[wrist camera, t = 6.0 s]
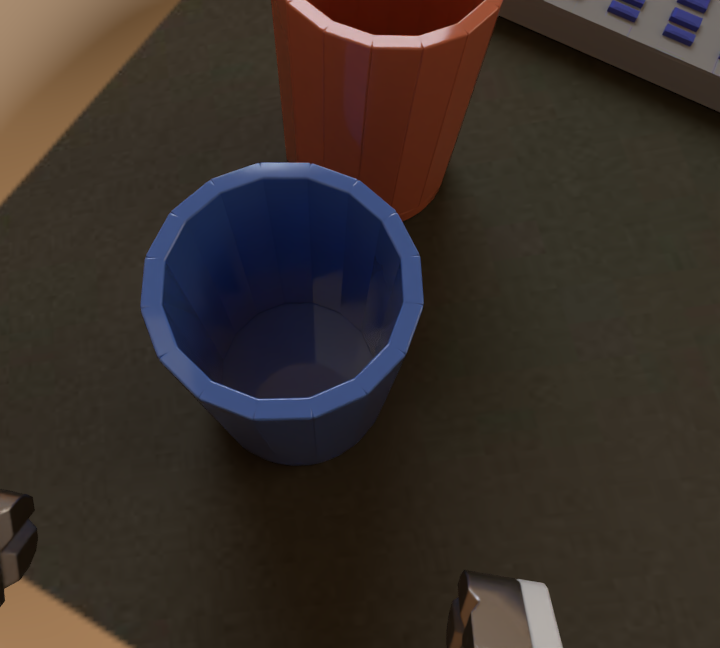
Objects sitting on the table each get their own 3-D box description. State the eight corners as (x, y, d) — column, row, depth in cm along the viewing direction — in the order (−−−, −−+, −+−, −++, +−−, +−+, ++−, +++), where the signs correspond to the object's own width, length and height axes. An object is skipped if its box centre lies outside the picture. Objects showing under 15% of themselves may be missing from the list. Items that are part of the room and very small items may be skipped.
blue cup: (389, 463, 22) (433, 416, 13) (209, 468, 22) (128, 423, 13) (380, 298, 24) (413, 161, 15) (217, 300, 24) (152, 161, 15)
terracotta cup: (451, 228, 26) (525, 50, 16) (287, 228, 25) (265, 46, 16) (438, 94, 28) (497, -129, 18) (288, 93, 27) (269, -137, 18)
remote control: (493, -104, 33) (504, -147, 31) (898, 62, 30) (940, 26, 28) (432, -11, 30) (439, -51, 28) (868, 179, 28) (912, 150, 26)
